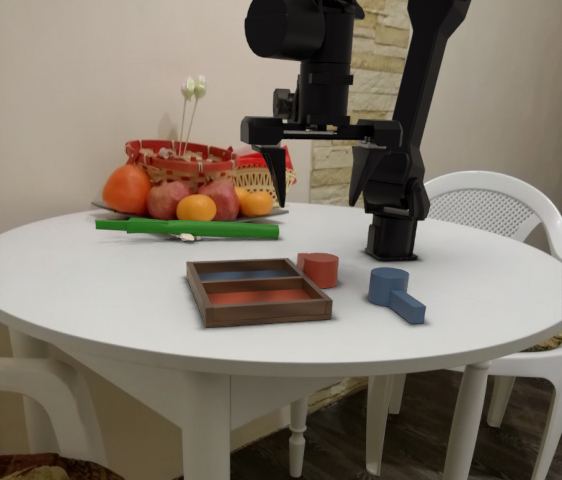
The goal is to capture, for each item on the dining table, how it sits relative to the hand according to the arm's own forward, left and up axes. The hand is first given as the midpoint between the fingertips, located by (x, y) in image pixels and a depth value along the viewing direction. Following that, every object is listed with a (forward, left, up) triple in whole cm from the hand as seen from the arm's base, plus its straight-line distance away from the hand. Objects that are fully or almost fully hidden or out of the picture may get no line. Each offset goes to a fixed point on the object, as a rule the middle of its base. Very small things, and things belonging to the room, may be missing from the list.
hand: (317, 206), depth 68 cm
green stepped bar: (+13, -25, -10) cm, 30 cm away
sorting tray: (+9, +5, -10) cm, 14 cm away
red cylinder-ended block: (-1, -2, -10) cm, 10 cm away
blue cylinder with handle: (-7, +12, -10) cm, 17 cm away
